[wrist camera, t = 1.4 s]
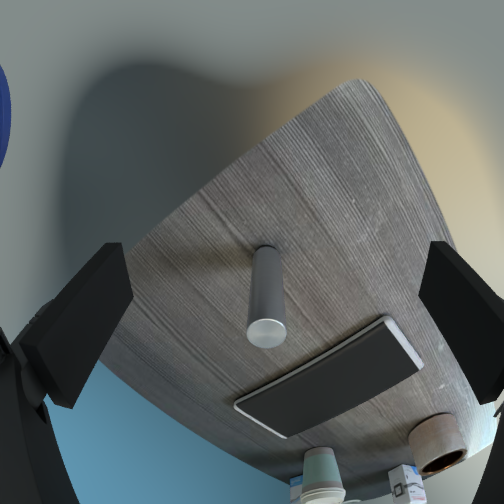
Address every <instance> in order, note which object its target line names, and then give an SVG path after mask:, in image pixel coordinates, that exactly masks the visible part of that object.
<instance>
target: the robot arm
mask: <svg viewBox="0 0 504 504" xmlns="http://www.w3.org/2000/svg"><path fill="white" fill-rule="evenodd" d="M418 296H419V298H420V299H421V301H422V302H423V304H424V306H425V307H426V309H427V310H428V312H429V314H430V315H431V317H432V318H433V320H434V322H435V323H436V325H437V327H438V328H439V330H440V332H441V333H442V335H443V337H444V339H445V340H446V342H447V344H448V345H449V347H450V349H451V351H452V353H453V354H454V356H455V358H456V360H457V362H458V363H459V365H460V367H461V369H462V371H463V373H464V374H465V376H466V378H467V380H468V382H469V384H470V386H471V388H472V390H473V392H474V394H475V396H476V398H477V400H478V402H479V404H480V405H483V404H486V403H490V402H493V401H496V400H497V398H498V397H499V395H500V394H501V392H502V391H503V389H504V300H503V299H502V298H500V297H499V296H497V295H496V293H495V292H494V291H493V290H492V289H491V288H490V287H489V286H488V285H487V284H486V283H485V281H484V280H483V279H482V278H481V277H480V276H479V275H478V274H477V273H476V272H475V271H474V270H473V269H472V268H471V267H470V265H469V264H467V262H466V261H465V260H464V259H463V258H462V257H461V256H460V255H459V254H458V253H457V252H456V251H455V250H454V249H453V248H452V247H451V246H450V245H448V244H447V243H446V242H445V241H431V244H430V248H429V253H428V258H427V262H426V267H425V271H424V275H423V279H422V283H421V287H420V291H419V294H418ZM133 297H134V296H133V292H132V288H131V284H130V280H129V276H128V271H127V267H126V262H125V258H124V253H123V248H122V244H121V243H105V244H104V245H103V246H102V247H101V248H100V250H99V251H98V252H97V253H96V254H95V255H94V256H93V257H92V258H91V259H90V260H89V261H88V262H87V263H86V264H85V265H84V266H83V268H82V269H81V270H80V271H79V272H78V273H77V274H76V275H75V276H74V277H73V278H72V279H71V281H70V282H69V283H68V284H67V285H66V286H65V287H64V288H63V289H62V291H61V292H60V293H59V294H58V295H57V296H56V297H55V299H52V300H51V301H49V302H48V303H46V304H45V305H44V306H42V307H41V308H40V310H39V311H38V312H37V313H36V314H35V317H33V318H32V319H31V320H30V321H29V324H27V325H26V326H25V327H24V329H23V330H22V331H21V332H20V334H19V335H18V336H17V337H16V339H15V340H14V341H13V342H12V343H11V345H10V344H9V342H8V340H7V338H6V336H5V334H4V332H3V330H2V328H1V327H0V504H80V503H79V501H78V499H77V496H76V494H75V492H74V489H73V487H72V484H71V481H70V479H69V476H68V473H67V471H66V468H65V465H64V462H63V459H62V457H61V454H60V451H59V447H58V445H57V441H56V438H55V434H54V431H53V428H52V424H51V421H50V417H49V413H48V409H47V406H46V405H45V402H44V401H43V399H44V398H45V396H46V394H48V395H49V397H50V398H51V400H52V401H53V403H54V404H55V405H59V406H62V407H66V408H70V409H73V407H74V405H75V403H76V400H77V398H78V397H79V395H80V393H81V391H82V389H83V387H84V385H85V383H86V381H87V379H88V377H89V375H90V374H91V372H92V370H93V368H94V366H95V364H96V362H97V361H98V359H99V357H100V355H101V353H102V351H103V350H104V348H105V346H106V344H107V342H108V341H109V339H110V337H111V335H112V333H113V332H114V330H115V328H116V326H117V325H118V323H119V321H120V320H121V318H122V316H123V314H124V313H125V311H126V309H127V308H128V306H129V304H130V302H131V301H132V299H133ZM500 412H501V416H500V418H499V419H500V420H499V424H498V428H497V432H496V435H495V439H494V442H493V446H492V449H491V453H490V456H489V459H488V462H487V465H486V468H485V471H484V474H483V476H482V479H481V482H480V484H479V487H478V490H477V492H476V495H475V497H474V500H473V502H472V504H504V401H503V403H502V404H501V406H500V407H499V409H498V410H497V411H496V412H495V414H494V416H493V417H495V418H496V417H497V415H498V414H499V413H500Z"/></svg>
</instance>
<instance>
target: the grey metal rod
mask: <svg viewBox="0 0 504 504" xmlns="http://www.w3.org/2000/svg"><path fill="white" fill-rule="evenodd" d="M246 334H247V338H248V340H249V341H250V342H251V343H252V344H253V345H255V346H257V347H260V348H273V347H276V346H278V345H280V344H281V343H282V342H283V341H284V340H285V338H286V335H287V329H286V315H285V301H284V288H283V275H282V262H281V256H280V253H279V252H278V251H277V250H276V249H275V248H274V247H272V246H270V245H264V246H262V247H260V248H259V249H258V250H257V251H256V252H255V253H254V255H253V261H252V273H251V285H250V296H249V308H248V320H247V332H246Z"/></svg>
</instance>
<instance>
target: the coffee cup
mask: <svg viewBox="0 0 504 504" xmlns="http://www.w3.org/2000/svg"><path fill="white" fill-rule="evenodd" d="M345 492H346V491H345V490H344V489H343V486H342V482H341V478H340V474H339V470H338V467H337V463H336V459H335V456H334V452H333V450H332V449H331V448H329V447H316V448H313V449H310V450H308V451H307V452H306V453H305V457H304V470H303V482H302V494H301V496H300V499H301V502H302V504H340V503H342V502H343V500H344V496H345Z"/></svg>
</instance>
